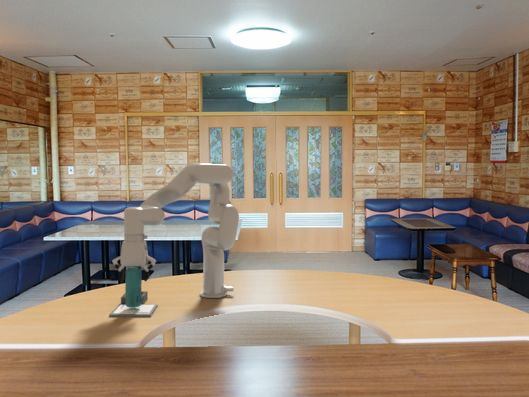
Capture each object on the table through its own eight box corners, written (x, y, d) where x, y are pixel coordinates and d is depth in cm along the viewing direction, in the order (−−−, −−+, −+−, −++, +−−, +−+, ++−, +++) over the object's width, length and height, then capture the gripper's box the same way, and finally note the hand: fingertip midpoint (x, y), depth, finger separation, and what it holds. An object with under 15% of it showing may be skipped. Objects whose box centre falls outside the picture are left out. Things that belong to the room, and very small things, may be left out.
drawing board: (157, 306, 182) (157, 303, 182) (150, 316, 169) (150, 314, 169) (119, 306, 181) (119, 303, 181) (109, 316, 168) (109, 314, 168)
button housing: (147, 299, 192) (147, 291, 191) (142, 305, 183) (142, 297, 182) (126, 299, 191) (126, 291, 191) (121, 305, 182) (120, 297, 182)
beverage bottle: (137, 312, 171) (137, 262, 170) (121, 310, 173) (121, 261, 171) (144, 307, 178) (144, 258, 176) (129, 305, 179) (129, 258, 178)
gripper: (157, 236, 177) (157, 278, 178) (115, 236, 177) (115, 278, 178) (153, 239, 170) (153, 283, 171) (109, 239, 169) (109, 282, 170)
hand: (134, 280), depth 174 cm, fingers open, 9 cm apart
